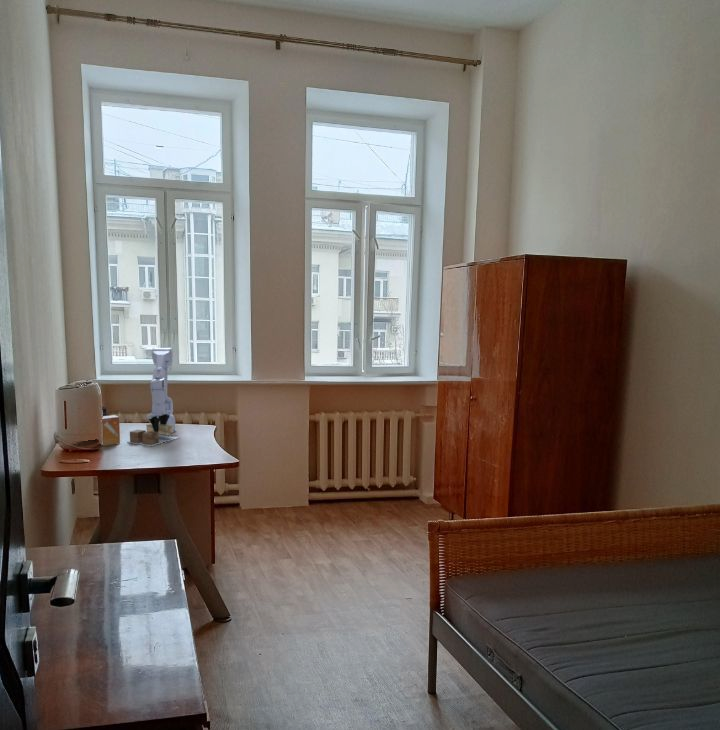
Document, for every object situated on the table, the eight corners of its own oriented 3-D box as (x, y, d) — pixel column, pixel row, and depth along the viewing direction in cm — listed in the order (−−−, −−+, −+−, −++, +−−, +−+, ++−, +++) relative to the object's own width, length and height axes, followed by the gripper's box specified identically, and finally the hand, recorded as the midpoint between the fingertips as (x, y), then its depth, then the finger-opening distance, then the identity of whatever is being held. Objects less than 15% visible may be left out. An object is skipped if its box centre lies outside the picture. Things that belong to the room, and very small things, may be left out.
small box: (102, 446, 262) (101, 418, 261) (98, 444, 267) (96, 416, 265) (120, 443, 268) (119, 416, 266) (115, 441, 272) (114, 414, 271)
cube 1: (138, 439, 274) (137, 429, 273) (145, 440, 272) (145, 430, 271) (130, 441, 269) (129, 431, 269) (137, 442, 267) (137, 432, 266)
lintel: (152, 430, 282) (152, 423, 282) (172, 433, 277) (172, 425, 276) (146, 432, 278) (146, 424, 278) (166, 435, 273) (166, 426, 273)
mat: (154, 435, 286) (154, 434, 286) (179, 438, 279) (179, 437, 279) (127, 442, 269) (126, 441, 269) (152, 446, 263) (152, 445, 263)
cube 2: (150, 441, 270) (150, 431, 270) (158, 442, 268) (158, 431, 268) (142, 443, 266) (142, 433, 265) (150, 444, 264) (150, 434, 263)
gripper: (153, 406, 268) (154, 434, 269) (175, 401, 281) (176, 428, 282) (142, 405, 271) (143, 433, 272) (164, 400, 284) (165, 427, 285)
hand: (159, 430), depth 278 cm, fingers closed on lintel, 4 cm apart
